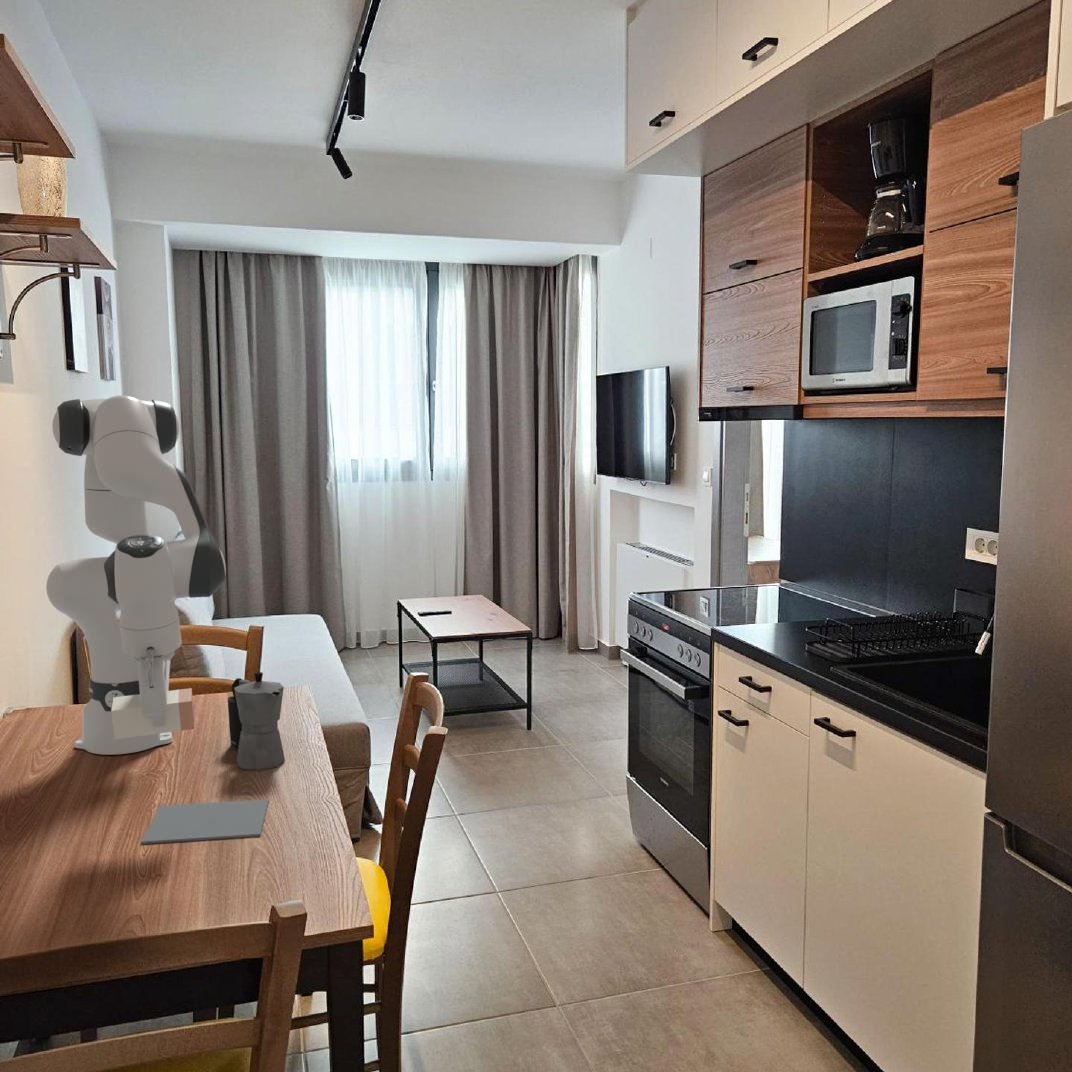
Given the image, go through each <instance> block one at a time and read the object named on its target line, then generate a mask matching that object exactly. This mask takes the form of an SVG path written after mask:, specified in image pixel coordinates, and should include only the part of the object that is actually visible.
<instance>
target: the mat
mask: <svg viewBox="0 0 1072 1072" xmlns="http://www.w3.org/2000/svg"><path fill="white" fill-rule="evenodd" d="M269 801H270V800H269V799H267V798H266V799H250V800H249V799H248V800H235V801H233V800H232V801H218V802H217V801H215V802H203V803H202V802H200V803H186V804H183V803H182V804H169V805H159V807H158V809H157V810H156V812H155V814H154V816H153V818H152V820H151V821H150V824H149V826H148V828H147V829H146V832H145V833H144V835H143V837H142V839H141V841H140V845H146V844H149V845H150V844H163V843H175V842H176V843H177V842H193V841H207V840H224V839H236V838H237V839H238V838H239V839H240V838H253V837H255V838H256V837H261V836H262V835H261V834H262V831H263V827H264V823H265V818H266V814H267V811H268V806H269V803H270V802H269Z"/></svg>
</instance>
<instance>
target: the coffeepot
mask: <svg viewBox="0 0 1072 1072" xmlns="http://www.w3.org/2000/svg"><path fill="white" fill-rule="evenodd" d="M253 674H254V679H255V680H254V681H250V680H247V679H242V678H235V680H234V681H233V683H232V684H231V690H232V691H231V693H232V696H234V701H235V706H236V710H237V714H238V718H239V719H240V721H241V723H242V731H241V734H240V740H239V747H238V750H237V755H236V765H237V767H239V768H240V769H243V770H246V771H248V770H249V771H263V770H269V769H274V768H276V767H279V766H281V765H283V763H284V762H285V761H286V759H285V753H284V748H283V743H282V738H281V734H280V729H279V727H278V725H279V723H278V721H279V720H280V719H281V712H282V705H283V704H282V703H283V696H284V689H285V687H284V685H282V684H281V683H280V682H275V681H265V680H263V675H264V673H263V672H261V671H257V672H254V673H253Z"/></svg>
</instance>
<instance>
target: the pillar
mask: <svg viewBox="0 0 1072 1072" xmlns="http://www.w3.org/2000/svg"><path fill="white" fill-rule="evenodd" d="M194 709H195V708H194V699H193V688H191V687H188V688H181V689H175V690H174V689H173V690H168V706H167V712H166V713H165V725H164V726H162V727H154V726H153V720H152V716H151V715H150V716H145V715H143V713H142V709H141V699H140V694H138V695H130V696H121V697H114V698H113V704H112V709H111V714H112V722H113V730H114V738H115V739H121V738H129V737H137V736H144V735H152V734H159V733H167V732H172V733H173V732H180V731H190V730H195V710H194Z"/></svg>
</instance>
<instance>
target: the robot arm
mask: <svg viewBox="0 0 1072 1072" xmlns="http://www.w3.org/2000/svg"><path fill="white" fill-rule="evenodd" d="M175 411H176V410H175V409H174V407H173V406H172V405H171V404H170V403H168V402H165V401H161V400H156V399H152V400H151V401H150V400H144V399H137V398H136V397H133V396H129V395H123V394H122V395H115V396H110V397H108V398H97V399H95V398H93V399H84V400H81V399H80V398H76V399H69V400H66V401H63V402H62V403H60V404H59V405H58V406H57V408H56V411H55V413H54V416H53V419H52V435H53V436H54V437H53V438H54V439H55V441H56V444H57V445H58V448H59V449H60V450H61V451H62V452H64V453H65V454H69V455H72V456H77V457H82V456H85V460H84V461H85V462H84V472H83V473H84V474H83V475H84V477H83V482H84V483H83V484H84V485H83V489H84V490H83V491H84V518H85V524H86V526H87V529H88V530H89V531H90V532H91V533H92V534H94V535H96V536H97V537H99V538H101V539H104V540H105V541H108V542H111V543H114V544H116V545H115V548H114V551H113V552H112V553H111V554H110V555H108V556H103V557H102V556H100V557H85V558H78V559H73V560H69V561H66V562H61V563H58V564H56V565H55V566H54V567H52V570H51V572H50V573H49V575H48V577H47V580H46V590H45V591H46V595H47V597H48V600H49V601H50V603H51V605H52V606H53V607H54V608H55V609H56V610H57V611H59V612H61V613H62V614H64V615H66V616H67V617H69V618H70V619H71V620H72V621H74V623H76V624H77V626H78V627H79V628H80V630H81V632H82V633H83V635H84V637H85V639H86V642H87V646H88V652H89V660H90V673H91V679H89V686H88V691H89V698H91V699H89V701H88V702H87V703H86V704H85V705H84V706H83V707H82V724H81V725H82V732H81V733H82V736H81V738H79V739H77V740H76V741H74V748H75V749H76V748H77V749H80V750H85V751H86V752H88V753H91V754H96V755H107V756H108V755H113V756H114V755H125V754H132V753H137V752H142V751H146V750H149V749H152V748H154V747H158V746H161V745H166V744H170V743H172V742H173V732H167V733H159V734H152V735H144V736H137V737H129V738H121V739H115V738H114V730H113V722H112V714H111V709H112V704H113V698H114V697H121V696H130V695H138V694H140V699H141V709H142V713H143V715H145V716H150V715H151V716H152V720H153V726H154V727H162V726H164V725H165V713H166V712H167V706H168V691H169V687H170V673H171V672H170V671H171V661H172V660H171V659H172V658H173V657H174V656H175V651H176V650H179V648H180V647H181V646H182V633H181V625H180V614H179V611H178V609H177V607H176V600H177V599H183V598H190V599H191V598H192V599H193V598H210V597H211V596H212V595H213V594H215V593H217V591H218V590H219V589H220V588H221V587H222V586H223V585H224V583H226V582H225V581H226V574H227V567H226V560H225V558H224V557H225V556H224V554H223V552H222V551H221V549H220V547H219V544H218V543H217V541H216V539H215V537H214V536H213V534H212V532H211V528H210V527H209V525H208V521H207V519H206V517H205V515H204V513H203V510H202V507H201V505H200V502H199V500H198V498H197V495H196V493H195V491H194V488H193V486H192V485H191V481H190V480H189V478H188V476H187V474H186V473H185V471H184V470H183V468H182V467H180V466H177V465H176V464H173V463H172V462H170V460H168V459H167V458H166V456H164V455H165V454H167V453H169V452H171V451H172V450H173V449H174V448H175V447H176V444H177V440H178V438H179V434H180V423H179V419H178V416H177V413H176V412H175ZM146 502H147V503H151V504H155V505H159V506H162V507H165V508H166V509H168V510H171V511H172V512H173V513H174V515H175V517H176V519H177V522H178V524H179V528H180V530H181V531H182V534H183V537H184V538H183V539H178V540H171V541H165V539H164V538H162V537H160V536H158V535H157V534H156V535H155V534H151V532H150V529H149V525H148V520H147V514H146V513H147V511H146ZM117 612H120V615H119V616H120V617H119V620H118V618H117Z"/></svg>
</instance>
